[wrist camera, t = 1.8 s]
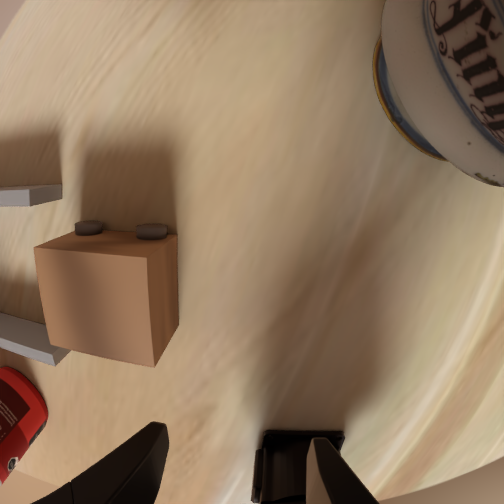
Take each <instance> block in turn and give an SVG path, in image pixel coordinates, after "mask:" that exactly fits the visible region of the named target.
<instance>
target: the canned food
mask: <svg viewBox="0 0 504 504" xmlns="http://www.w3.org/2000/svg"><path fill="white" fill-rule="evenodd" d="M47 419H48V411H47V407H46V405H45V402H44V400H43V398H42V397H41V395H40V394H39V392H38V391H37V389H36V388H35V387H34V385H33V384H32V383H31V382H30V381H29V380H28V379H27V378H26V377H25V376H23V375H22V374H21V373H20V372H18V371H16V370H15V369H13V368H10V367H2V368H0V486H1V485H2V484H3V482H4V481H5V480H6V479H7V477H8V476H9V474H10V473H11V472H12V470H13V469H14V467H15V466H16V465H17V463H18V462H19V461H20V459H21V458H22V456H23V455H24V454H25V452H26V451H27V450H28V448H29V447H30V446H31V444H32V443H33V442H34V440H35V439H36V438H37V436H38V435H39V434H40V432H41V431H42V430H43V428H44V427H45V425H46V422H47Z"/></svg>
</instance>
